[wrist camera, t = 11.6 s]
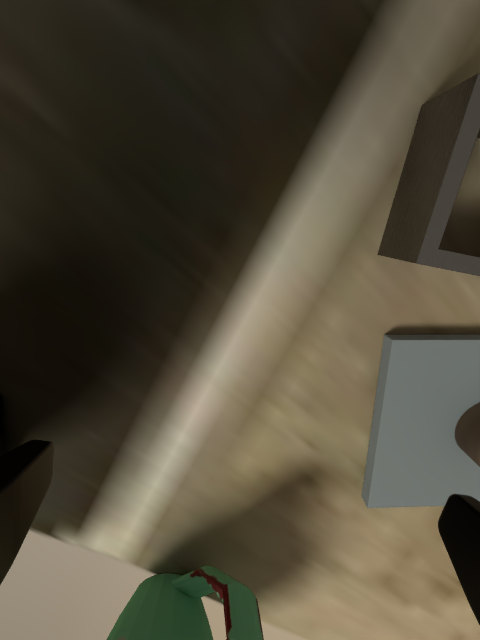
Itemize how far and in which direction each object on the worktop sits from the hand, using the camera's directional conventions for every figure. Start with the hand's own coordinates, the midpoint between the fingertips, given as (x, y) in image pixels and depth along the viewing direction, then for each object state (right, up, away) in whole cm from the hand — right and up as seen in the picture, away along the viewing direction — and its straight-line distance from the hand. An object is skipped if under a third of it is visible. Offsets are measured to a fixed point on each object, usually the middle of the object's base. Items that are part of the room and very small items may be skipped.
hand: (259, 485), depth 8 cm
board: (+15, -3, +15) cm, 22 cm away
